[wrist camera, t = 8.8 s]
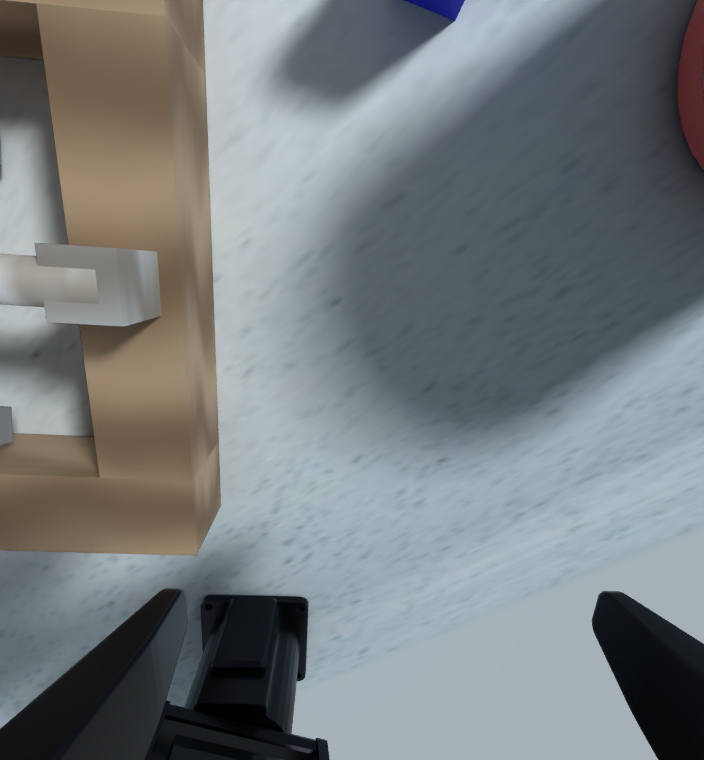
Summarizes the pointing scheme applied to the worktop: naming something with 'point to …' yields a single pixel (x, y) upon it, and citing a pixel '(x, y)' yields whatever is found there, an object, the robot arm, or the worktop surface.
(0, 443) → the orange staple arch
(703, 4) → the citrus juicer
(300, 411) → the worktop surface
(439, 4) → the cable clip
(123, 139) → the wooden picture frame
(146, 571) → the worktop surface
